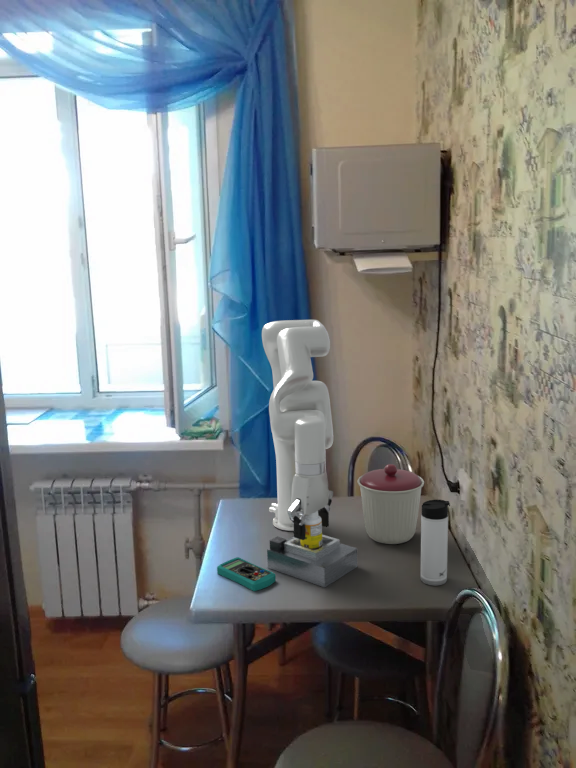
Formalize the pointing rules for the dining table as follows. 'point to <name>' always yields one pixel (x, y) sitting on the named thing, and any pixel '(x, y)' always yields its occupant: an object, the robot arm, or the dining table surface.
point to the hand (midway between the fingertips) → (311, 532)
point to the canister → (390, 503)
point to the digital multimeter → (246, 574)
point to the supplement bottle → (312, 532)
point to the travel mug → (434, 542)
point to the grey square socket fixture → (312, 559)
